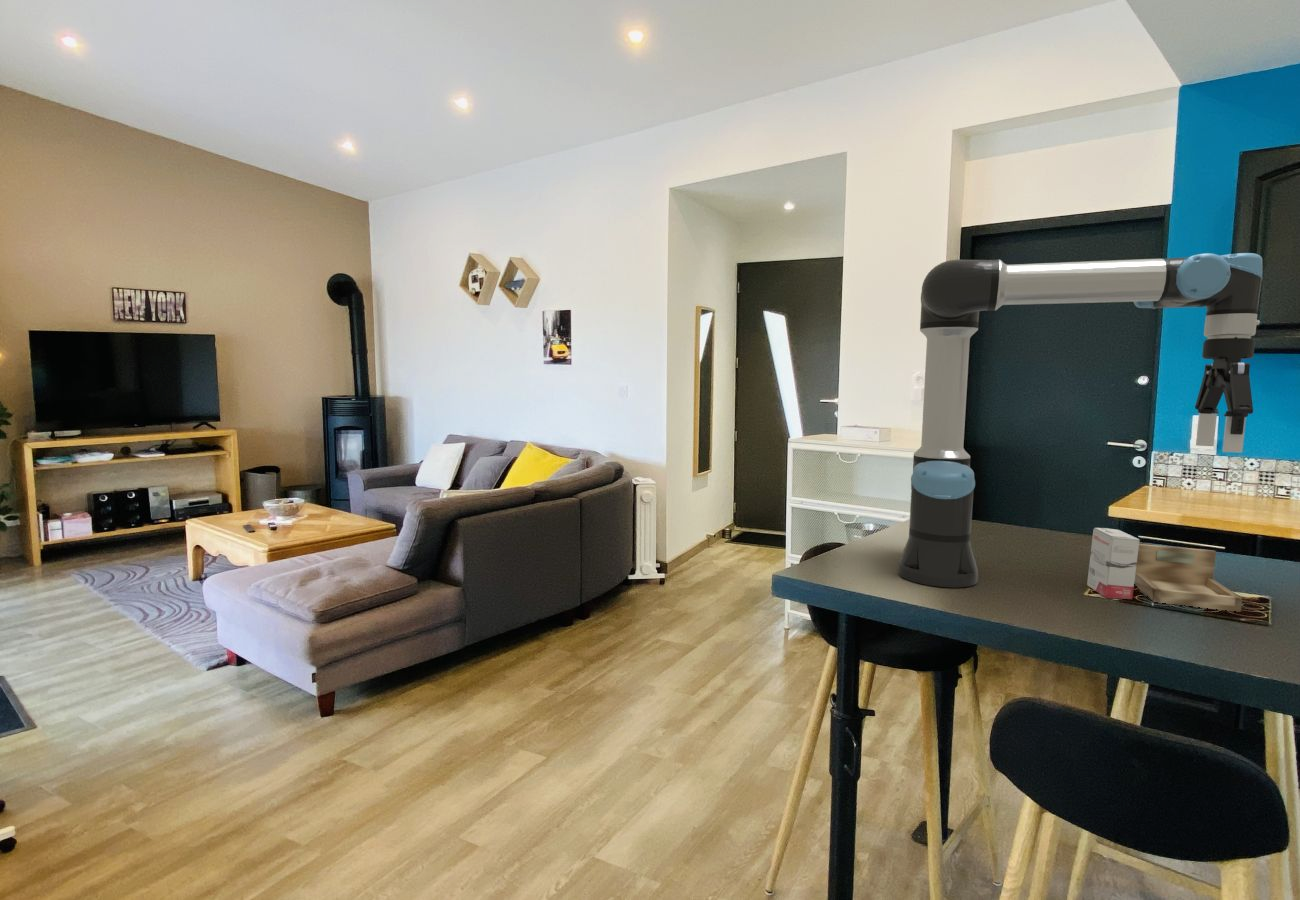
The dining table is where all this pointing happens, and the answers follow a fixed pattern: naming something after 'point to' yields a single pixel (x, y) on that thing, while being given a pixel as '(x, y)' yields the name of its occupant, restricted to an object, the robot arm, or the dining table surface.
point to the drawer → (1182, 578)
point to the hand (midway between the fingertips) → (1217, 449)
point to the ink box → (1113, 563)
